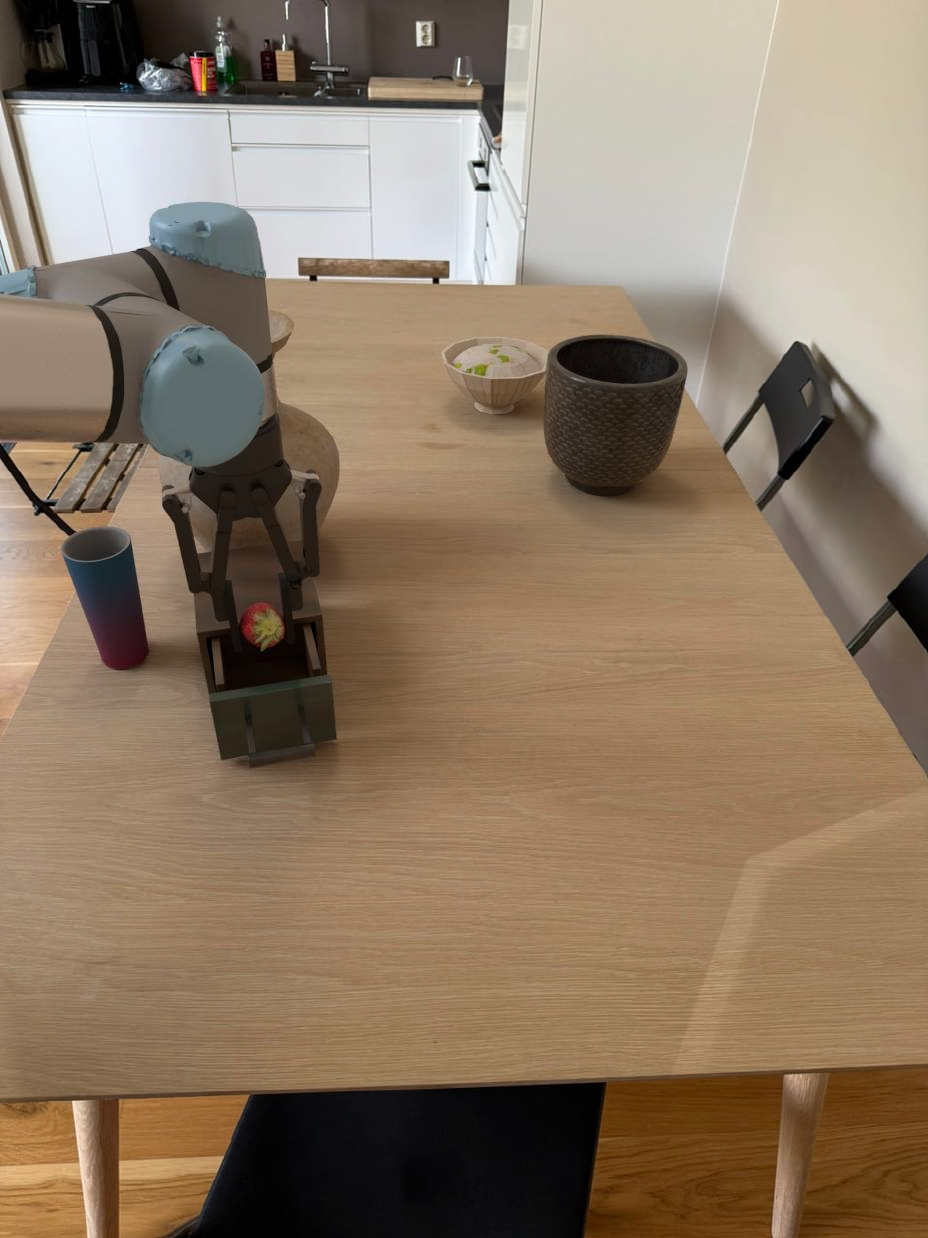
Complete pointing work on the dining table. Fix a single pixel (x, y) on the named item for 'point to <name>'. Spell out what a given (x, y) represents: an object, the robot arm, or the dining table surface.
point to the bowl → (495, 370)
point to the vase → (302, 451)
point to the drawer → (271, 699)
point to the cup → (108, 593)
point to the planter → (611, 409)
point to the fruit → (262, 625)
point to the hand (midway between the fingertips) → (263, 638)
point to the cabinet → (254, 599)
